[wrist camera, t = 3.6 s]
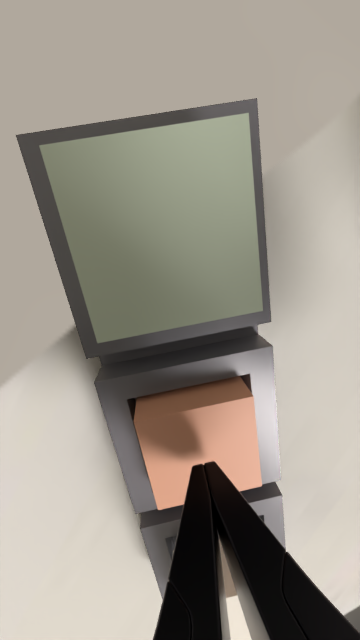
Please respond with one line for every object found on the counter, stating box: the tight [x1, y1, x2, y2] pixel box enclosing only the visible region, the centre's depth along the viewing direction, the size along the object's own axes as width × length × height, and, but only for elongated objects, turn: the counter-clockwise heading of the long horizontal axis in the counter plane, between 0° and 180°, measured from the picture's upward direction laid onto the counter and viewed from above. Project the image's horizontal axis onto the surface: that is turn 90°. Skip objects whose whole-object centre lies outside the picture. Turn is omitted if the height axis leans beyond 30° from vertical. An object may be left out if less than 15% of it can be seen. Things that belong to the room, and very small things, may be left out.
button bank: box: [16, 98, 286, 599], centre depth 11 cm, size 23×7×2 cm, turn 10°
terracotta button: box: [134, 376, 262, 510], centre depth 10 cm, size 4×4×2 cm
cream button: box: [173, 539, 252, 640], centre depth 11 cm, size 4×4×2 cm
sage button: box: [39, 113, 263, 343], centre depth 7 cm, size 4×4×2 cm
